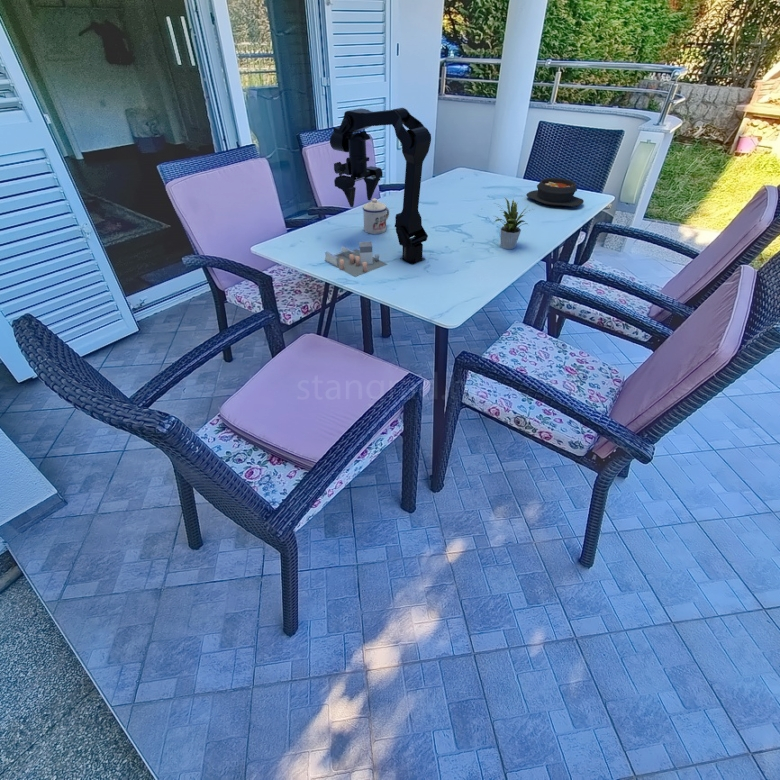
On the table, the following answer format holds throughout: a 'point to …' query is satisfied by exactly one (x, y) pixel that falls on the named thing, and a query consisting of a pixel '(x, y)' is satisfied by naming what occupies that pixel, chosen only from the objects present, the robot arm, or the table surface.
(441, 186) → the table surface
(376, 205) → the teacup with lid
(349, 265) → the mat
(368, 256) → the block
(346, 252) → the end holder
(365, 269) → the pegs
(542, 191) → the casserole
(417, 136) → the robot arm
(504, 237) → the house plant
